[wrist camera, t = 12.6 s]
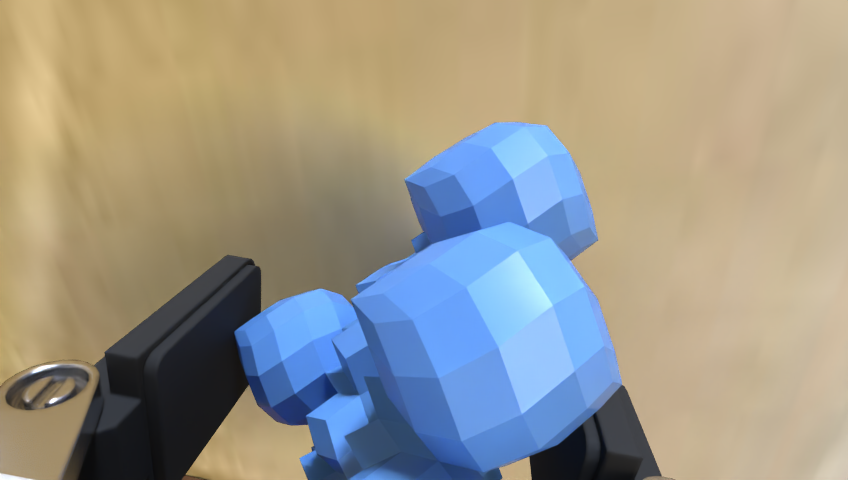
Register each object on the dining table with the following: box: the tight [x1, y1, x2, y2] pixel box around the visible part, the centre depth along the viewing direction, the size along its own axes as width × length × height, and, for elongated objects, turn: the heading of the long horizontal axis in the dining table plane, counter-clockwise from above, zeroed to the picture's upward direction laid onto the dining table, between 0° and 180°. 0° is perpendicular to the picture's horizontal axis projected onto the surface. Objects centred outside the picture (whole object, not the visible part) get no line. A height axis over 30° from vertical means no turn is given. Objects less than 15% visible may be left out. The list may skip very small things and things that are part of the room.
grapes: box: [234, 122, 622, 480], centre depth 10 cm, size 12×7×12 cm, turn 164°
